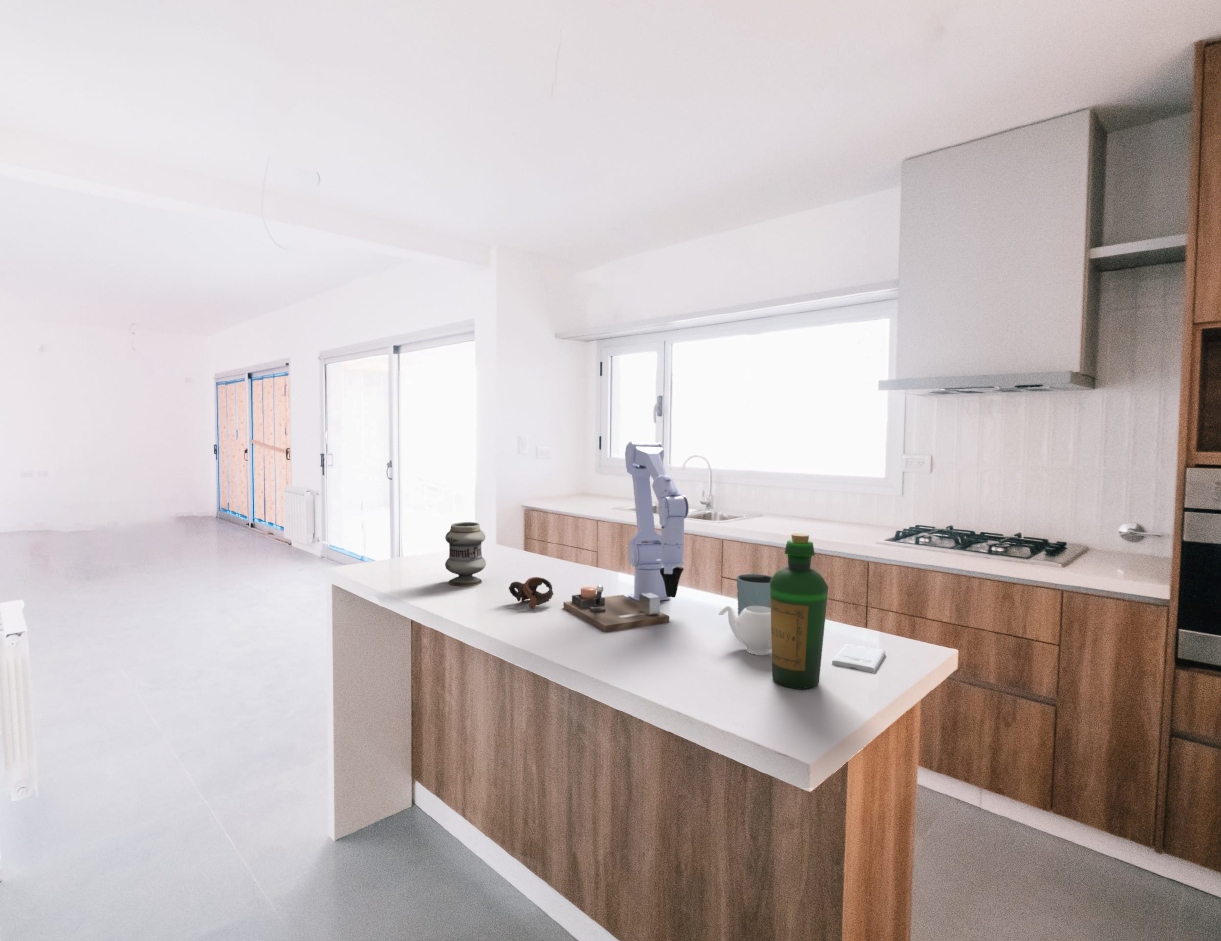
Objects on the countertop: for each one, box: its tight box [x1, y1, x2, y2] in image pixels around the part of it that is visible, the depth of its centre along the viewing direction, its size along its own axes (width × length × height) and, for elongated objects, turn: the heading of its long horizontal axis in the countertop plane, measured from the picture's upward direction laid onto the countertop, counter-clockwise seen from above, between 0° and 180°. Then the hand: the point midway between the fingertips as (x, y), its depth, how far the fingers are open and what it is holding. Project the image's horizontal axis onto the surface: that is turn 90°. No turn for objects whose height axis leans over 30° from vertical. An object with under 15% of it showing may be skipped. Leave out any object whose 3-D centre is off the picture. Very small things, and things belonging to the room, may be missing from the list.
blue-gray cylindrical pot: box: [736, 573, 773, 617], centre depth 157 cm, size 10×10×12 cm
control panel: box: [563, 593, 670, 633], centre depth 166 cm, size 18×23×4 cm
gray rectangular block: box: [638, 592, 661, 615], centre depth 163 cm, size 3×5×4 cm, turn 29°
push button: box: [580, 586, 597, 600], centre depth 170 cm, size 4×4×2 cm
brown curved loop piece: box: [508, 576, 554, 610], centre depth 175 cm, size 12×10×8 cm
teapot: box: [718, 605, 772, 656], centre depth 140 cm, size 10×20×9 cm, turn 49°
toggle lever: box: [593, 585, 604, 607], centre depth 163 cm, size 2×2×6 cm
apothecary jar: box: [444, 521, 487, 587], centre depth 198 cm, size 12×12×18 cm
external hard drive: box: [831, 643, 886, 674], centre depth 136 cm, size 2×8×12 cm
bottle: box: [770, 533, 829, 690], centre depth 123 cm, size 11×11×28 cm
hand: (671, 596), depth 166 cm, fingers closed
